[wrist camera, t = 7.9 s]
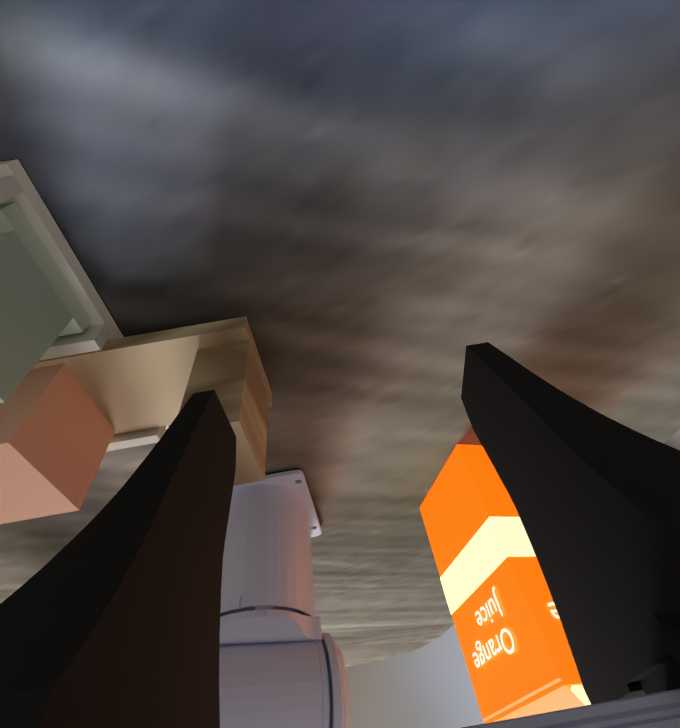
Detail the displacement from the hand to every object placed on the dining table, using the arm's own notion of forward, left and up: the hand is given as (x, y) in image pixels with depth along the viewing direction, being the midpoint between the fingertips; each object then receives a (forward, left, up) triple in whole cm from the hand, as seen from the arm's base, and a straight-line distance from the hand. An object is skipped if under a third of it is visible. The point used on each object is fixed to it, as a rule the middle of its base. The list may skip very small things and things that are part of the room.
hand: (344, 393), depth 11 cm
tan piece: (-5, +11, -9) cm, 15 cm away
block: (-5, +16, -8) cm, 18 cm away
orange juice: (-22, -10, -10) cm, 26 cm away
